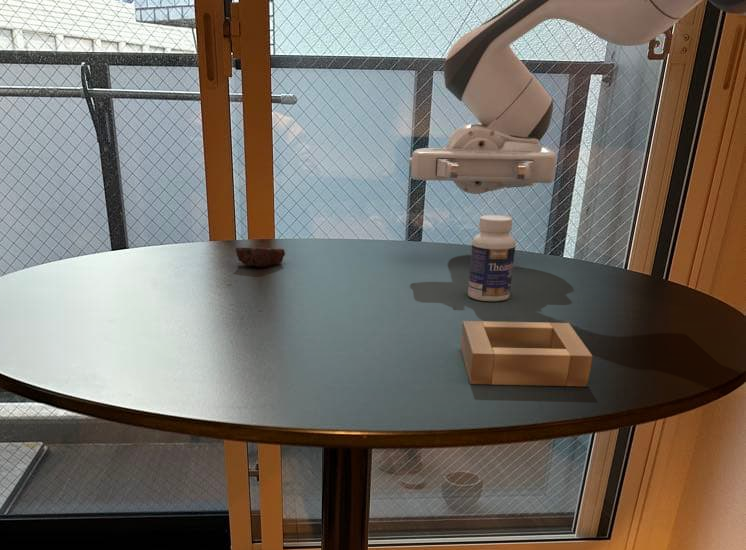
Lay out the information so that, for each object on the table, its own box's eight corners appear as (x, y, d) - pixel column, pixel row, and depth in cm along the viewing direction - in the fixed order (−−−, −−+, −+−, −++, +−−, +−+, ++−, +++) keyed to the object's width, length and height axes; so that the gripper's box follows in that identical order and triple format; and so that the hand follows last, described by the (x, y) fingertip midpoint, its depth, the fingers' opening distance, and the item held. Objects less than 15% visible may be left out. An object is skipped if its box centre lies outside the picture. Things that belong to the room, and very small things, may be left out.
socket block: (564, 351, 85) (569, 322, 83) (587, 386, 75) (592, 355, 74) (460, 348, 85) (462, 320, 84) (469, 384, 76) (472, 353, 74)
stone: (228, 267, 118) (227, 244, 117) (251, 258, 124) (251, 237, 123) (268, 271, 116) (267, 249, 115) (290, 262, 122) (290, 240, 120)
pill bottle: (487, 304, 101) (495, 222, 96) (459, 295, 105) (465, 216, 100) (518, 298, 104) (527, 218, 99) (489, 290, 108) (497, 212, 103)
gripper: (408, 135, 118) (411, 144, 107) (548, 138, 118) (566, 147, 106) (406, 182, 122) (409, 195, 110) (542, 185, 121) (559, 198, 109)
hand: (487, 171), depth 108 cm, fingers open, 8 cm apart
